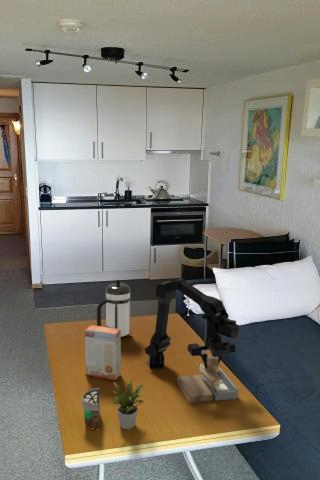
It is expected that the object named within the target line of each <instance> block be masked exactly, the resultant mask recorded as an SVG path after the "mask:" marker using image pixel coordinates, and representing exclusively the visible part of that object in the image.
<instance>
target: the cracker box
mask: <svg viewBox="0 0 320 480" xmlns="http://www.w3.org/2000/svg"><path fill="white" fill-rule="evenodd" d="M101 326H102V325H101ZM101 326H97V325H94V324H92V325H90V326H88V327H87V328H86V329H85V330H84V333H85V334H84V335H85V337H84V338H85V339H84V340H85V341H84V342H85V375H86V376H90V377H95V378H99V379H106V380H111V381H117V379H118V378H119V377H120V376H121V372H122V371H121V369H122V367H121V363H122V360H121V356H122V355H121V353H122V347H121V344H122V343H121V342H122V339H121V338H122V337H121V329H114V328H108V327H106V326H102V327H101Z"/></svg>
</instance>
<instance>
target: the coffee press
mask: <svg viewBox="0 0 320 480" xmlns="http://www.w3.org/2000/svg"><path fill="white" fill-rule="evenodd" d="M104 290H105V293H106V294H105V299H102V300H101V301H100V302H99V303H98V305H97V308H96V326H101V327H103V326H102V307H103V306H104V305H105V327H108V328H114V329H121V338H122V337H125V336H129V337H130V334H131V335H132V336H133V333H132V331H131V291H132V289H131V288H130V286H129V285H127V284H125V283H122V282H121V280H120V279H117V280H115V283H111V284H109V285H107V287H106V288H105V289H104Z"/></svg>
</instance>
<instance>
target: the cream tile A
mask: <svg viewBox="0 0 320 480" xmlns="http://www.w3.org/2000/svg"><path fill="white" fill-rule="evenodd" d="M213 390H214V391H215V393H216V394H217V393H221V392H228V388H227V387H226V386H225V384H220V386H213Z"/></svg>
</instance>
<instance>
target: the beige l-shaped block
mask: <svg viewBox="0 0 320 480" xmlns="http://www.w3.org/2000/svg"><path fill="white" fill-rule="evenodd" d="M207 355H208V356H207V369H205V367H204V364H203V363H199V369H198V372H199V373H200V374H202V375H203V377H204V378H205V380H206V381H207V382H208V384H209V385H210V386H220V381H221V379H220V377H219V376H218V375H217V373H216V371H217V370H218V367H219V365H218V360H219V359H218V358H217V357H213V356H212V355H209V354H207ZM217 366H218V367H217Z"/></svg>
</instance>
